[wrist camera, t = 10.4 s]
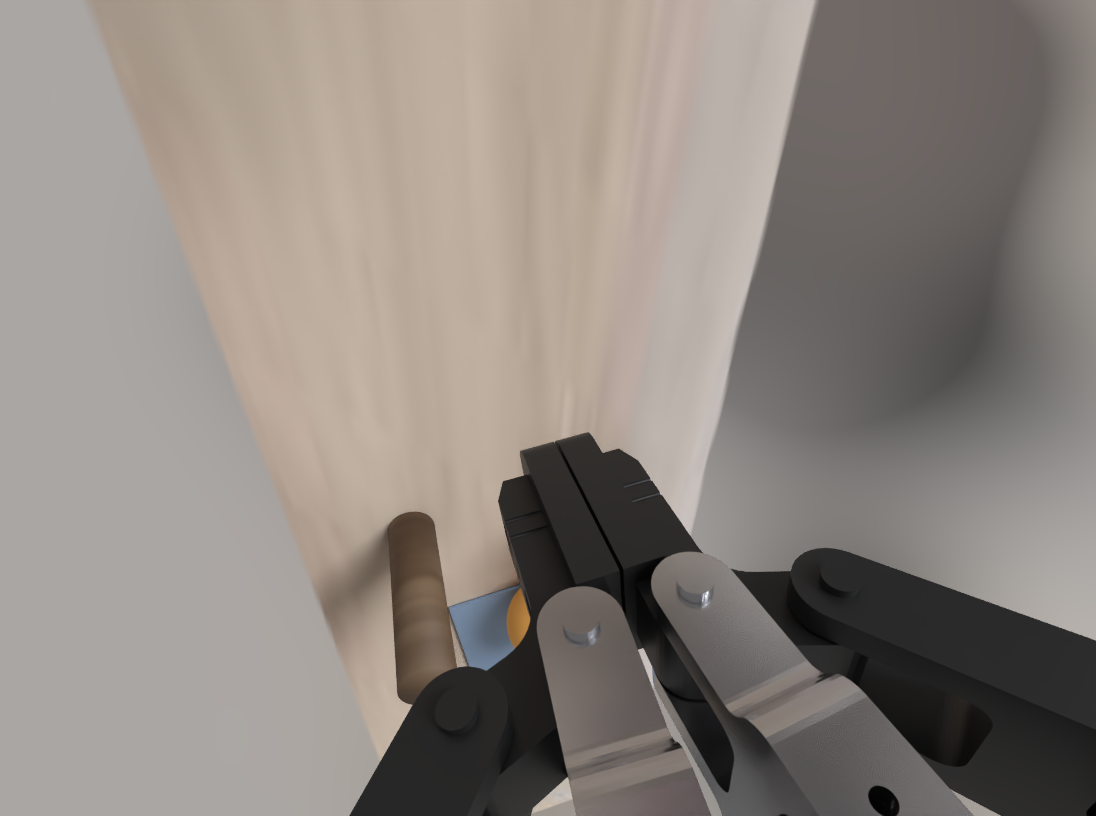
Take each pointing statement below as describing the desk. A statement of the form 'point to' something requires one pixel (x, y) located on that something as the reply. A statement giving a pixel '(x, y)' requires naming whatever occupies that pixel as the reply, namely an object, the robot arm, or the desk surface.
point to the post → (418, 605)
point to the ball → (517, 619)
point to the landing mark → (484, 627)
